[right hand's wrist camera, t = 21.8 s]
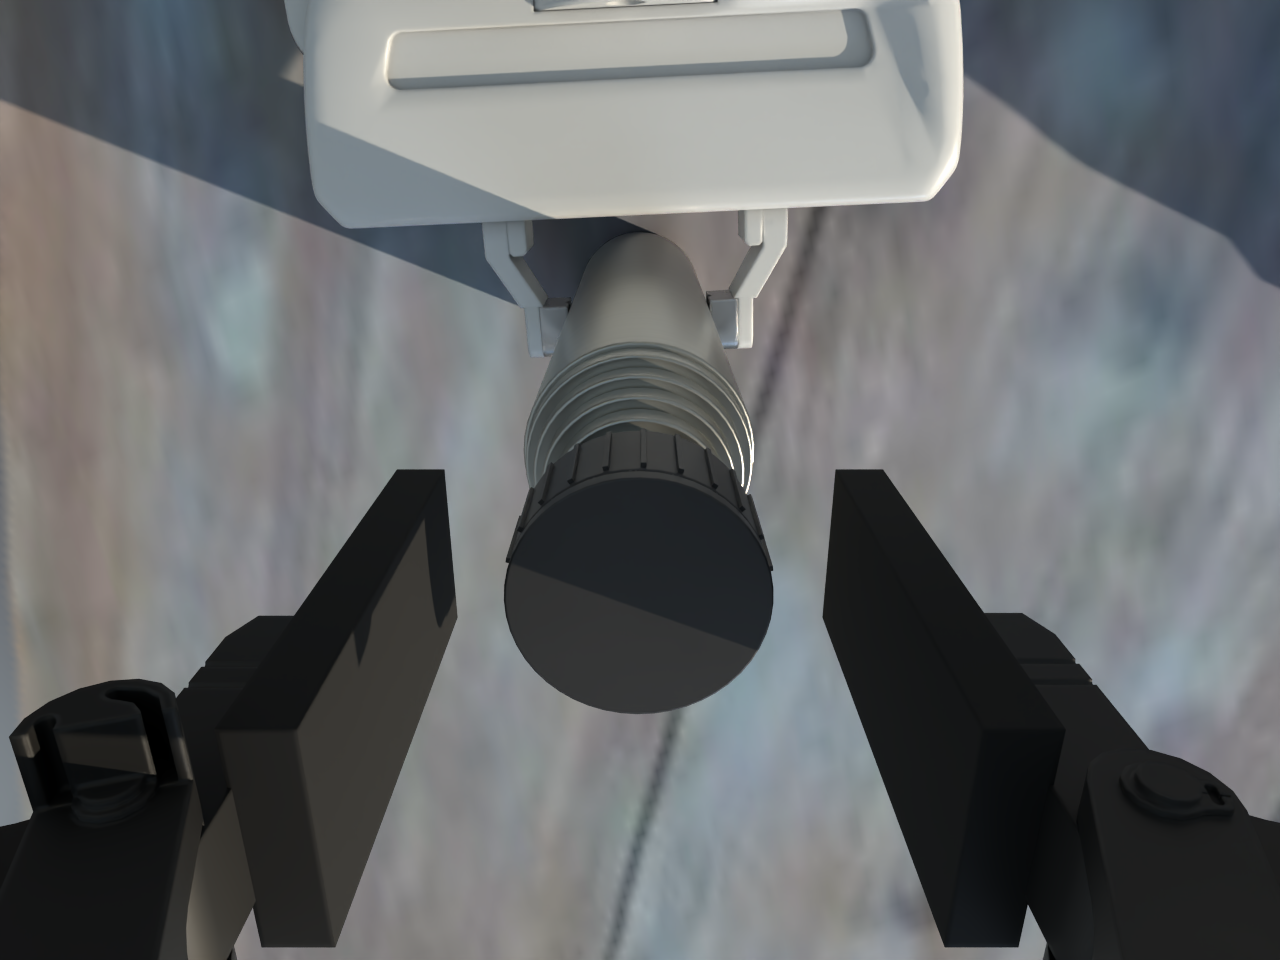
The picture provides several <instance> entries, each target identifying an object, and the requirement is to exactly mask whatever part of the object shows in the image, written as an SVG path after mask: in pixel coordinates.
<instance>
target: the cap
mask: <svg viewBox="0 0 1280 960" xmlns="http://www.w3.org/2000/svg"><path fill="white" fill-rule="evenodd" d="M506 562H507V563H509V565H508V568H507V573H506V579H505V584H504V604H505V612H506V618H507V621H508V625H509V629H510V632H511V634H512V636H513V638H514V641H515V643H516V645H517V647H518V648H519V650H520V652H521V653H522V655H523V657H524V658H525V660H526V661H527V662H528V663H529V664H530V666H531V667H532V668H533V669H534V670H535V672H537V673H538V674H539V675H540V676H541V677H542V678H543V679H544V680H545V681H546V682H547V683H549V684H550V685H551V686H553V687H554V688H556V689H557V690H558V691H560V692H562V693H563V694H565V695H567V696H569V697H570V698H572V699H574V700H577V701H579V702H581V703H584V704H586V705H588V706H592V707H595V708H599V709H602V710H606V711H612V712H618V713H628V714H650V713H659V712H666V711H671V710H675V709H679V708H682V707H686V706H689V705H691V704H694V703H696V702H699V701H701V700H703V699H705V698H707V697H709V696H711V695H713V694H714V693H716V692H718V691H719V690H720V689H722V688H723V687H725V686H726V685H728V684H729V683H730V682H731V681H732V680H733V679H735V678H736V677H737V676H738V675H739V674H740V673H741V672H742V671H743V670H744V669H745V667H746V666H747V665H748V664H749V663H750V662H751V660H752V659H753V657H754V656H755V654H756V653H757V651H758V649H759V648H760V646H761V644H762V642H763V640H764V637H765V635H766V633H767V630H768V627H769V623H770V620H771V615H772V608H773V583H772V576H771V571H773V566H772V562H771V559H770V556H769V552H768V549H767V546H766V542H765V539H764V535H763V532H762V528H761V525H760V522H759V518H758V515H757V512H756V508H755V505H754V502H753V498H752V496H751V494H749V495H747V494H746V492H745V490H744V488H743V487H742V485H741V484H740V482H739V481H738V479H737V475H736V471H735V470H734V469H733V468H732V469H729V468H728V467H727V466H726V465H725V464H724V463H723V462H721V461H720V460H719V459H718V458H717V457H716V456H715V455H713V454H712V453H711V449H709V448H707V447H706V449H704V448H702V447H701V446H698V445H696V444H694V443H692V442H690V441H688V440H685V439H683V438H680V435H679V434H675V435H669V434H664V433H659V432H651V431H646V429H642V428H641V431H625V432H619V433H613V434H612V433H611V431H610V432H606V435H604V436H601V437H598V438H595V439H592V440H590V441H588V442H585V443H583V444H581V445H580V444H579V443H577V444H575V445H574V449H572V450H571V451H569V452H568V453H566V454H565V455H563V456H562V457H561V458H560V459H559V460H557V461H556V462H555V463H554V464H553V463H552V462H550V463H549V464H548V466H547V470H546V472H545V473H544V474H543V476H542V477H541V479H540V480H539V482H538V483H537V484H536V486H535V488H532V487H531V488H530V490H529V492H528V495H527V498H526V502H525V505H524V508H523V512H522V515H521V516H519V519H518V522H517V525H516V528H515V532H514V535H513V538H512V541H511V545H510V548H509V551H508V554H507V557H506Z"/></svg>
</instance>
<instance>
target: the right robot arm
mask: <svg viewBox="0 0 1280 960" xmlns="http://www.w3.org/2000/svg"><path fill="white" fill-rule="evenodd" d="M456 620H457V607H456V595H455V584H454V573H453V561H452V550H451V539H450V528H449V516H448V505H447V494H446V482H445V471H444V470H396V472H395V473H394V475H393V476H392V478H391V479H390V480H389V482H388V483H387V485H386V486H385V487H384V489H383V490H382V492H381V493H380V495H379V496H378V497H377V499H376V500H375V502H374V503H373V504H372V506H371V507H370V509H369V510H368V512H367V513H366V514H365V516H364V517H363V519H362V520H361V522H360V523H359V524H358V526H357V527H356V529H355V530H354V531H353V533H352V534H351V536H350V537H349V539H348V540H347V541H346V543H345V544H344V546H343V547H342V548H341V550H340V551H339V553H338V554H337V556H336V557H335V558H334V560H333V561H332V563H331V564H330V566H329V567H328V568H327V570H326V571H325V573H324V574H323V575H322V577H321V578H320V580H319V581H318V583H317V584H316V585H315V587H314V588H313V590H312V591H311V592H310V594H309V595H308V597H307V598H306V600H305V601H304V602H303V604H302V605H301V607H300V608H299V610H298V611H297V612H296V614H295V615H294V616H257V617H256V618H254V619H253V620H251V621H250V622H248V623H247V624H245V625H244V626H242V627H240V628H239V629H237V630H236V631H234V632H233V633H231V634H230V635H228V636H226V637H225V638H224V640H223V641H222V642H221V643H220V644H219V646H218V647H217V648H216V649H215V651H214V652H213V653H212V654H211V656H210V657H209V658H208V659H207V661H206V662H205V667H201V668H200V669H199V670H198V672H197V673H196V674H195V675H194V677H193V678H192V679H191V680H190V682H189V686H188V688H184V689H183V690H182V691H181V693H180V694H179V695H178V696H177V698H176V697H175V693H174V692H173V691H171V690H170V689H169V688H167V687H166V686H165V685H163V684H162V683H158V682H153V681H148V680H142V679H130V680H115V681H108V682H104V683H100V684H96V685H92V686H88V687H84V688H80V689H77V690H75V691H73V692H70V693H68V694H66V695H64V696H61V697H59V698H57V699H54V700H52V701H50V702H48V703H47V704H45V705H44V706H42V707H41V708H39V709H38V710H36V711H35V712H33V713H32V714H30V715H29V716H27V717H26V718H24V719H23V721H22V722H21V723H20V724H19V725H18V727H17V728H16V729H15V730H14V731H13V733H12V734H11V735H10V736H9V739H10V742H11V745H12V748H13V751H14V754H15V757H16V760H17V763H18V766H19V769H20V772H21V775H22V779H23V782H24V785H25V788H26V791H27V794H28V797H29V800H30V803H31V806H32V809H33V814H32V816H31V818H30V820H26V821H22V822H19V823H15V824H11V825H6V826H2V827H0V960H237V957H236V953H235V949H234V944H235V942H236V940H237V938H238V936H239V934H240V932H241V930H242V928H243V926H244V924H245V922H246V920H247V918H248V916H249V914H250V912H251V910H252V908H253V910H254V915H255V919H256V924H257V928H258V933H259V937H260V942H261V947H336V944H337V941H338V938H339V936H340V933H341V930H342V928H343V925H344V922H345V920H346V917H347V914H348V911H349V909H350V906H351V903H352V901H353V898H354V895H355V893H356V890H357V887H358V884H359V882H360V879H361V876H362V874H363V871H364V868H365V866H366V863H367V860H368V857H369V855H370V852H371V849H372V847H373V844H374V841H375V839H376V836H377V833H378V831H379V828H380V825H381V822H382V820H383V817H384V814H385V812H386V809H387V806H388V804H389V801H390V798H391V795H392V793H393V790H394V787H395V785H396V782H397V779H398V777H399V774H400V771H401V768H402V766H403V763H404V760H405V758H406V755H407V752H408V750H409V747H410V744H411V741H412V739H413V736H414V733H415V731H416V728H417V725H418V723H419V720H420V717H421V714H422V712H423V709H424V706H425V704H426V701H427V698H428V696H429V693H430V690H431V687H432V685H433V682H434V679H435V677H436V674H437V671H438V669H439V666H440V663H441V660H442V658H443V655H444V652H445V650H446V647H447V644H448V642H449V639H450V636H451V633H452V631H453V628H454V625H455V623H456ZM823 620H824V623H825V625H826V628H827V631H828V633H829V636H830V639H831V642H832V644H833V647H834V650H835V652H836V655H837V658H838V660H839V663H840V666H841V669H842V671H843V674H844V677H845V679H846V682H847V685H848V687H849V690H850V693H851V696H852V698H853V701H854V704H855V706H856V709H857V712H858V714H859V717H860V720H861V723H862V725H863V728H864V731H865V733H866V736H867V739H868V741H869V744H870V747H871V750H872V752H873V755H874V758H875V760H876V763H877V766H878V768H879V771H880V774H881V777H882V779H883V782H884V785H885V787H886V790H887V793H888V795H889V798H890V801H891V804H892V806H893V809H894V812H895V814H896V817H897V820H898V822H899V825H900V828H901V831H902V833H903V836H904V839H905V841H906V844H907V847H908V849H909V852H910V855H911V857H912V860H913V863H914V866H915V868H916V871H917V874H918V876H919V879H920V882H921V884H922V887H923V890H924V893H925V895H926V898H927V901H928V903H929V906H930V909H931V911H932V914H933V917H934V920H935V922H936V925H937V928H938V930H939V933H940V936H941V938H942V941H943V944H944V947H1019V942H1020V937H1021V933H1022V928H1023V924H1024V919H1025V915H1026V910H1027V905H1029V907H1030V909H1031V911H1032V913H1033V915H1034V917H1035V919H1036V921H1037V923H1038V925H1039V927H1040V929H1041V931H1042V933H1043V935H1044V938H1045V940H1046V942H1047V944H1046V949H1045V953H1044V957H1043V960H1280V823H1278V822H1273V821H1268V820H1264V819H1261V818H1257V817H1253V816H1250V815H1249V814H1248V812H1247V810H1246V809H1245V807H1244V806H1243V804H1242V803H1241V802H1240V800H1239V799H1238V797H1237V796H1236V795H1235V793H1234V792H1233V791H1232V790H1231V789H1230V788H1229V787H1227V786H1226V785H1225V784H1223V783H1222V782H1221V781H1220V780H1218V779H1217V778H1216V777H1214V776H1213V775H1212V774H1211V773H1209V772H1207V771H1205V770H1203V769H1201V768H1199V767H1197V766H1195V765H1193V764H1191V763H1189V762H1187V761H1185V760H1183V759H1181V758H1177V757H1174V756H1170V755H1167V754H1163V753H1160V752H1156V751H1153V750H1149V749H1148V748H1147V746H1146V745H1145V744H1144V743H1143V742H1142V740H1141V739H1140V738H1139V737H1138V735H1137V734H1136V733H1135V732H1134V730H1133V729H1132V728H1131V727H1130V726H1129V724H1128V723H1127V722H1126V721H1125V719H1124V718H1123V717H1122V716H1121V715H1120V713H1119V712H1118V711H1117V710H1116V708H1115V707H1114V706H1113V705H1112V703H1111V702H1110V701H1109V700H1108V699H1107V697H1106V696H1105V695H1104V694H1103V692H1102V691H1101V690H1100V689H1099V688H1098V686H1097V685H1093V684H1092V679H1091V678H1090V676H1089V675H1088V674H1087V673H1086V672H1085V670H1084V669H1083V668H1082V667H1081V665H1080V664H1076V663H1075V658H1074V657H1073V656H1072V654H1071V653H1070V652H1069V651H1068V649H1067V648H1066V647H1065V646H1064V645H1063V643H1062V642H1061V641H1060V640H1059V638H1058V637H1057V636H1056V635H1055V634H1054V633H1052V632H1051V631H1049V630H1048V629H1046V628H1045V627H1043V626H1041V625H1040V624H1038V623H1037V622H1035V621H1034V620H1032V619H1030V618H1029V617H1027V616H1026V615H1024V614H1023V613H984V612H983V611H982V610H981V608H980V607H979V605H978V604H977V602H976V601H975V600H974V598H973V597H972V595H971V594H970V592H969V591H968V590H967V588H966V587H965V585H964V584H963V583H962V581H961V580H960V578H959V577H958V575H957V574H956V573H955V571H954V570H953V568H952V567H951V566H950V564H949V563H948V561H947V560H946V558H945V557H944V556H943V554H942V553H941V551H940V550H939V548H938V547H937V546H936V544H935V543H934V541H933V540H932V539H931V537H930V536H929V534H928V533H927V531H926V530H925V529H924V527H923V526H922V524H921V523H920V522H919V520H918V519H917V517H916V516H915V514H914V513H913V512H912V510H911V509H910V507H909V506H908V504H907V503H906V502H905V500H904V499H903V497H902V496H901V495H900V493H899V492H898V490H897V489H896V487H895V486H894V485H893V483H892V482H891V480H890V479H889V478H888V476H887V475H886V473H885V472H884V470H836V471H835V482H834V494H833V505H832V516H831V528H830V539H829V550H828V561H827V573H826V584H825V595H824V607H823Z"/></svg>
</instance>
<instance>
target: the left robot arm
mask: <svg viewBox="0 0 1280 960" xmlns="http://www.w3.org/2000/svg"><path fill="white" fill-rule="evenodd" d="M284 2H285V8H286V14H287V20H288V25H289V28H290V31H291V34H292V37H293V39H294V42H295V43H296V45H297V47H298V48H299V50H300V51H301V53H302V54H303V55H304V58H303V70H304V106H305V123H306V135H307V147H308V156H309V165H310V173H311V180H312V186H313V190H314V194H315V197H316V199H317V200H318V202H319V203H320V204H321V205H322V206H323V207H324V209H325V210H326V211H327V212H328V213H329V214H330V215H331V216H332V217H333V218H334V219H335V220H336V221H337V222H338V223H339V224H340V225H341V226H343V227H345V228H375V227H396V226H417V225H438V224H459V223H480V222H482V232H483V241H484V250H485V259H486V260H487V261H488V263H489V264H490V266H491V267H492V269H493V270H494V271H495V273H496V274H497V276H498V277H499V278H500V280H501V281H502V283H503V284H504V286H505V287H506V288H507V290H508V291H509V293H510V294H511V296H512V297H513V298H514V300H515V301H516V303H517V304H518V305H519V307H520V308H524V312H525V322H526V333H527V343H528V352H529V355H530V357H552V355H553V352H554V350H555V347H556V345H557V342H558V339H559V337H560V334H561V331H562V329H563V326H564V323H565V321H566V318H567V316H568V313H569V310H570V308H571V305H572V304H571V297H570V298H548V296H547V294H546V293H545V291H544V290H543V288H542V287H541V285H540V284H539V282H538V280H537V279H536V277H535V276H534V274H533V273H532V271H531V270H530V268H529V267H528V265H527V263H526V262H525V260H524V259H523V257H522V256H525V254H526V253H527V252H528V251H529V250H530V249H531V248H532V246H533V245H534V238H533V225H532V220H544V219H565V218H586V217H607V216H628V215H649V214H670V213H691V212H713V211H734V210H738V235H739V236H740V237H741V238H742V240H743V241H744V242H745V243H746V244H747V245H748V246H751V248H750V249H749V251H748V253H747V255H746V257H745V259H744V261H743V263H742V264H741V266H740V268H739V270H738V272H737V274H736V276H735V277H734V279H733V281H732V283H731V285H730V287H729V290H718V291H706V302H707V305H708V308H709V310H710V313H711V316H712V318H713V321H714V324H715V327H716V329H717V332H718V335H719V337H720V340H721V343H722V345H723V348H724V349H737V348H751V347H752V341H753V298H755V297H757V296H758V294H759V293H760V291H761V289H762V287H763V286H764V284H765V282H766V280H767V279H768V277H769V275H770V274H771V272H772V270H773V268H774V267H775V265H776V263H777V261H778V260H779V258H780V256H781V255H782V253H783V251H784V249H785V248H786V246H787V226H788V208H797V207H818V206H839V205H860V204H881V203H902V202H922V201H928V200H930V199H931V198H933V197H934V196H935V195H936V194H937V193H938V191H939V190H940V189H941V188H942V186H943V185H944V184H945V183H946V181H947V180H948V179H949V177H950V176H951V175H952V173H953V172H954V170H955V169H956V166H957V164H958V160H959V154H960V145H961V134H962V115H963V44H962V26H961V10H960V1H959V0H284Z"/></svg>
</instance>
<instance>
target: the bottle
mask: <svg viewBox="0 0 1280 960" xmlns="http://www.w3.org/2000/svg"><path fill="white" fill-rule="evenodd" d="M641 428H642V429H646V431H651V432H659V433H664V434H669V435H675V434H679V435H680V438H683V439H685V440H688V441H690V442H692V443H694V444H696V445H698V446H701V447H702V448H704V449H706V447H707V448H709V449H711V453H712V454H713V455H715V456H716V457H717V458H718V459H719V460H720V461H721V462H723V463H724V464H725V465H726V466H727V467H728V468H729V469H732V468H733V469H734V470H735V471H736V475H737V479H738V481H739V482H740V484H741V485H742V487H743V488H744V490H745V492H746V494H747V491H748V488H749V485H750V480H751V474H752V468H753V462H754V437H753V430H752V426H751V422H750V418H749V415H748V412H747V410H746V407H745V404H744V402H743V399H742V396H741V393H740V391H739V388H738V385H737V383H736V380H735V377H734V375H733V372H732V369H731V367H730V364H729V361H728V359H727V356H726V353H725V351H724V348H723V345H722V343H721V340H720V337H719V335H718V332H717V329H716V327H715V324H714V321H713V318H712V316H711V313H710V310H709V308H708V305H707V302H706V300H705V297H704V294H703V292H702V289H701V286H700V284H699V281H698V278H697V276H696V273H695V270H694V268H693V266H692V264H691V262H690V260H689V258H688V257H687V256H686V254H685V253H684V252H683V251H682V250H681V249H680V248H679V247H678V246H677V245H675V244H674V243H673V242H671V241H670V240H668V239H666V238H664V237H662V236H659V235H656V234H652V233H646V232H633V233H626V234H623V235H620V236H617V237H615V238H613V239H611V240H609V241H608V242H606V243H605V244H604V245H602V246H601V247H600V248H599V249H598V250H597V251H596V252H595V253H594V255H593V256H592V257H591V259H590V260H589V262H588V264H587V266H586V268H585V271H584V273H583V276H582V279H581V281H580V284H579V287H578V289H577V292H576V295H575V297H574V300H573V302H572V305H571V308H570V310H569V313H568V316H567V318H566V321H565V323H564V326H563V329H562V331H561V334H560V337H559V339H558V342H557V345H556V347H555V350H554V352H553V355H552V358H551V360H550V363H549V366H548V368H547V371H546V374H545V376H544V379H543V381H542V384H541V387H540V389H539V392H538V395H537V397H536V400H535V402H534V405H533V408H532V411H531V413H530V416H529V419H528V422H527V427H526V432H525V438H524V460H525V467H526V474H527V479H528V484H529V488H531V487H532V488H535V486H536V484H537V483H538V482H539V480H540V479H541V477H542V476H543V474H544V473H545V472H546V470H547V466H548V464H549V463H550V462H552V463H553V464H554V463H555V462H556V461H557V460H559V459H560V458H561V457H562V456H563V455H565V454H566V453H568V452H569V451H571V450H572V449H574V445H575V444H577V443H579V444H580V445H581V444H583V443H585V442H588V441H590V440H592V439H595V438H598V437H601V436H604V435H606V432H610V431H611V433H612V434H613V433H619V432H625V431H641Z"/></svg>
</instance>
